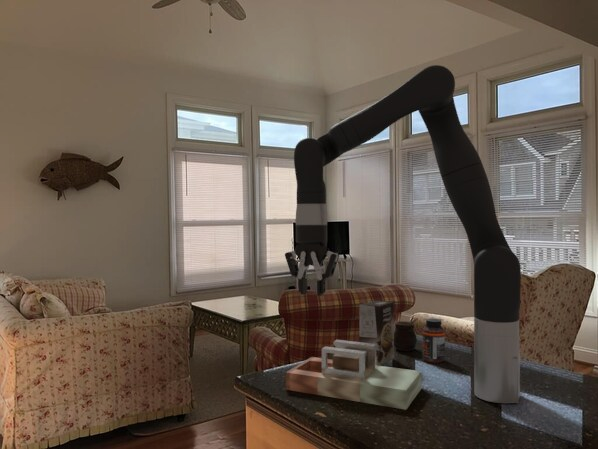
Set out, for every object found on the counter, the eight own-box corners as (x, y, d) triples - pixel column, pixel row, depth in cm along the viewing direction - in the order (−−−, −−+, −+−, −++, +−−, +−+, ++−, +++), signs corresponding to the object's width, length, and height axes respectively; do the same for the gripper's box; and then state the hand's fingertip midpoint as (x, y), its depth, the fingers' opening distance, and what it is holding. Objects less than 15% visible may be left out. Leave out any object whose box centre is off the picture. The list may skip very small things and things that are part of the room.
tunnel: (376, 368, 117) (376, 343, 117) (363, 380, 109) (363, 353, 109) (336, 363, 121) (336, 339, 121) (321, 373, 113) (321, 348, 113)
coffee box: (379, 367, 131) (379, 306, 131) (358, 362, 135) (358, 303, 135) (395, 359, 139) (394, 301, 138) (374, 355, 143) (374, 299, 142)
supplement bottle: (418, 358, 139) (418, 318, 139) (436, 356, 141) (436, 316, 141) (430, 364, 133) (430, 322, 133) (449, 362, 135) (449, 321, 135)
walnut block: (366, 369, 116) (366, 352, 116) (357, 376, 111) (357, 358, 111) (342, 366, 119) (342, 349, 119) (332, 373, 114) (332, 355, 114)
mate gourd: (395, 345, 154) (396, 313, 153) (420, 348, 150) (420, 315, 150) (388, 350, 147) (389, 317, 147) (414, 354, 144) (414, 319, 144)
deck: (421, 388, 115) (421, 371, 115) (406, 409, 102) (406, 390, 102) (311, 372, 127) (311, 356, 127) (285, 389, 115) (285, 372, 115)
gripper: (344, 222, 119) (345, 294, 119) (292, 223, 125) (292, 291, 126) (332, 223, 112) (333, 299, 112) (277, 223, 119) (278, 295, 119)
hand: (311, 294), depth 119 cm, fingers open, 3 cm apart
